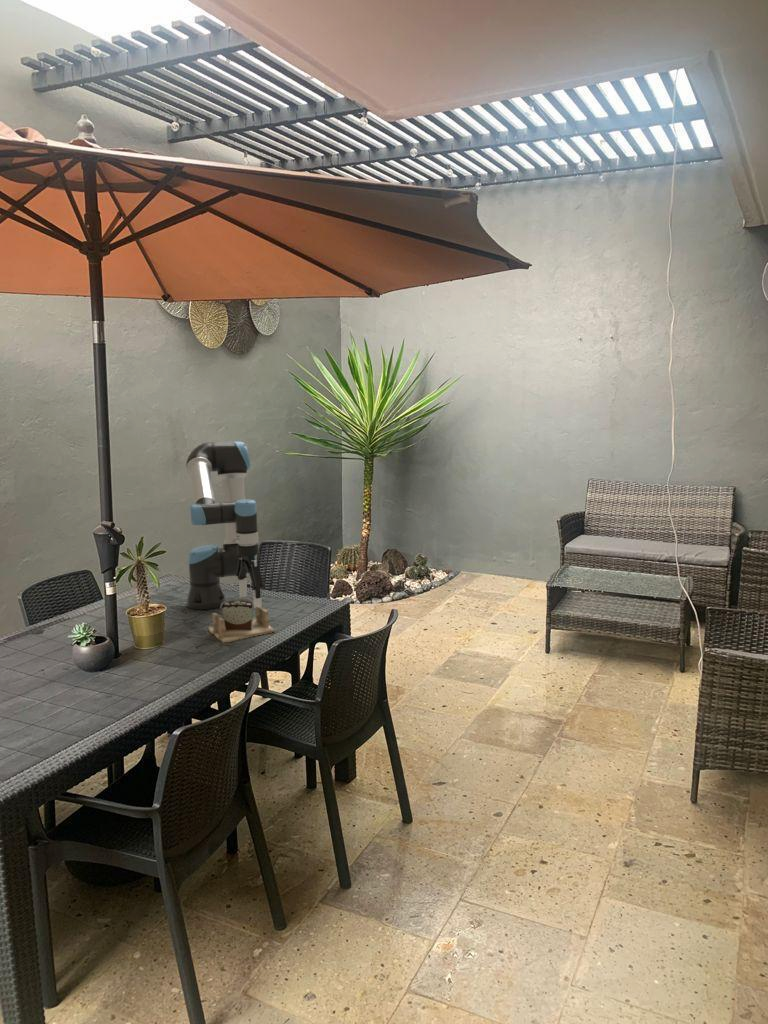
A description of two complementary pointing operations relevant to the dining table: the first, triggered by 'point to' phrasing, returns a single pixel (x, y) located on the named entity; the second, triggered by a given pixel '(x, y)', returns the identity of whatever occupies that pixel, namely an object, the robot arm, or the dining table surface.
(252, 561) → the robot arm
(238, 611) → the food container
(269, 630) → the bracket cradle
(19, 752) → the dining table surface
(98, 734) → the dining table surface
